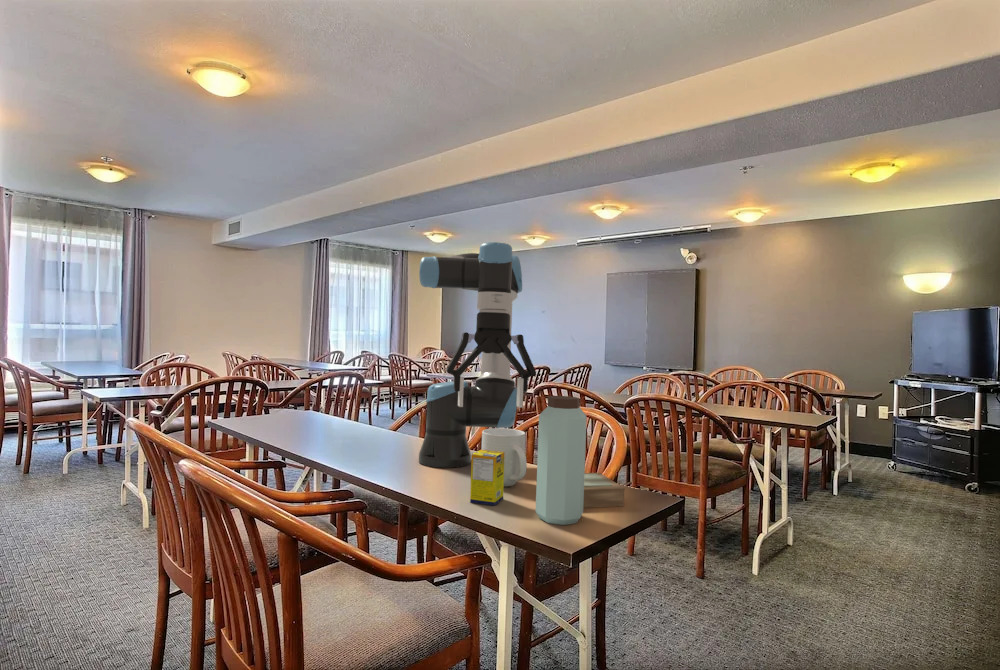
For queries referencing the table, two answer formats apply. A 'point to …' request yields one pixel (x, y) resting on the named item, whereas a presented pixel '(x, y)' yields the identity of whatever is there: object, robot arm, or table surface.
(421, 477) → the table surface
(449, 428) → the robot arm
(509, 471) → the mug
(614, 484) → the oak stand
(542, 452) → the water bottle
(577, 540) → the table surface
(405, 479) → the table surface
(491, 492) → the supplement box
